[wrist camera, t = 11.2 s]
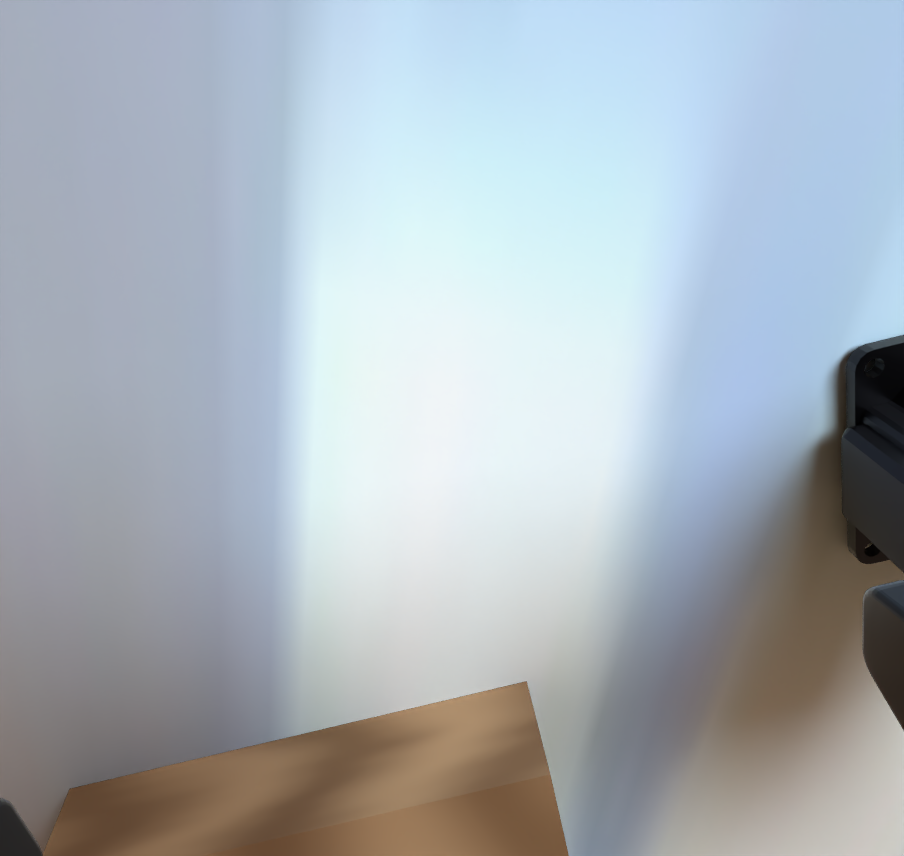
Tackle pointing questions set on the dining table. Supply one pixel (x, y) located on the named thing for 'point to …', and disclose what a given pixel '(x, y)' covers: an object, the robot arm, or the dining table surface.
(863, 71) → the dining table surface
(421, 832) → the brown block
